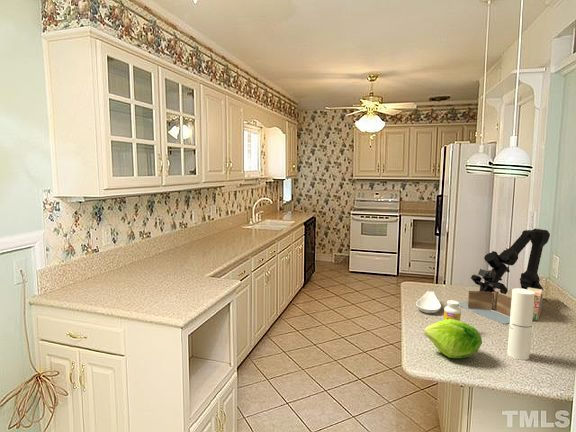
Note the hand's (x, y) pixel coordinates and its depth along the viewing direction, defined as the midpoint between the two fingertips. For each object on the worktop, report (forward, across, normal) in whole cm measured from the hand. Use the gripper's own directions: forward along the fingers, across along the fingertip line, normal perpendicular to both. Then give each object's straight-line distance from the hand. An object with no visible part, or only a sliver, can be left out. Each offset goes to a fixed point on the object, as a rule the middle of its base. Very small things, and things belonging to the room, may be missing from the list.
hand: (479, 296), depth 196 cm
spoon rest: (+21, -9, -12) cm, 26 cm away
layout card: (+3, +5, +6) cm, 8 cm away
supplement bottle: (+28, +18, -20) cm, 38 cm away
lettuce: (+39, +35, -32) cm, 62 cm away
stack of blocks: (-9, +14, +19) cm, 25 cm away
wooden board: (+5, +2, +3) cm, 6 cm away
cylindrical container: (+23, +44, -15) cm, 52 cm away
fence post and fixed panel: (+1, +12, +8) cm, 14 cm away
